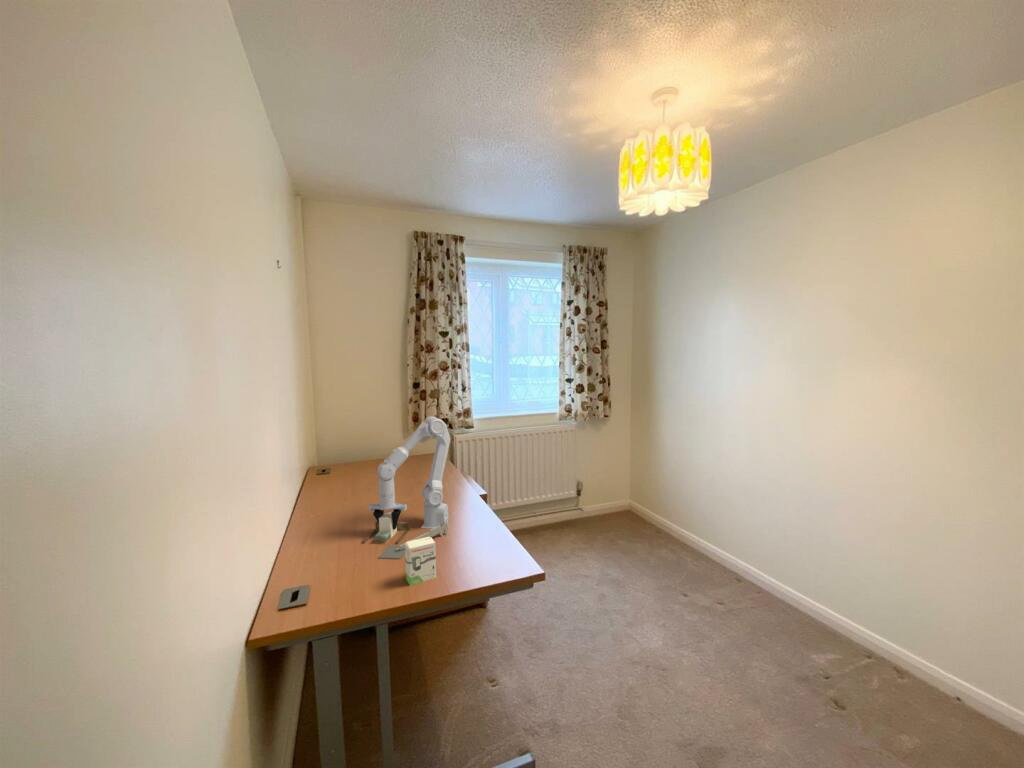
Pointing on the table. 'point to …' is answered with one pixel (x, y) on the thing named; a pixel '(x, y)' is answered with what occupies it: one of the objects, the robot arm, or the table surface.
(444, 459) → the robot arm
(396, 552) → the mat
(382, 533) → the block
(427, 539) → the ink box
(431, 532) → the caliper
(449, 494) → the table surface
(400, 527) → the frame
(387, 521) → the cream tapered prism
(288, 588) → the table surface
